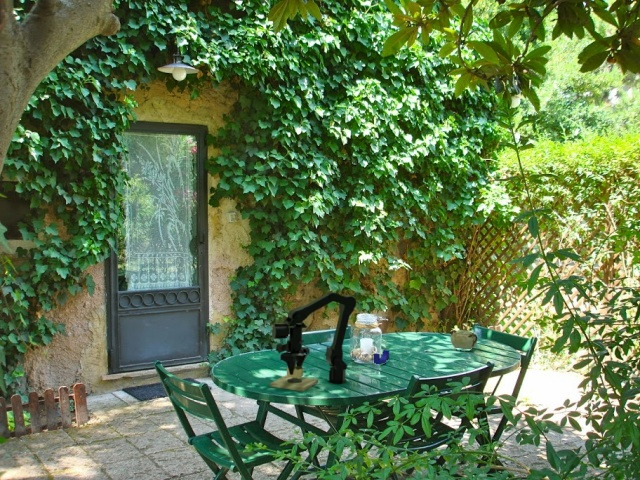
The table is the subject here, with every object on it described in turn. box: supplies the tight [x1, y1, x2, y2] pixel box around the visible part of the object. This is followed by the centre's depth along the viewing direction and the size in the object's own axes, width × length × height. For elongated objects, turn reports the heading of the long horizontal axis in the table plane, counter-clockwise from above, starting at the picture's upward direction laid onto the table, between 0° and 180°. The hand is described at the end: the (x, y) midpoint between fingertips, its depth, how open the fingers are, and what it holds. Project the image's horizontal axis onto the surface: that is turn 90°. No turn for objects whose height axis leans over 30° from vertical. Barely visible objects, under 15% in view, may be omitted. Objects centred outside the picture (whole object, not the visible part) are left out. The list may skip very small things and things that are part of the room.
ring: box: [286, 366, 304, 378], centre depth 280 cm, size 7×7×4 cm
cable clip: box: [374, 349, 390, 364], centre depth 326 cm, size 12×4×6 cm, turn 145°
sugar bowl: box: [450, 324, 478, 349], centre depth 364 cm, size 20×15×15 cm
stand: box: [269, 368, 319, 392], centre depth 280 cm, size 16×16×7 cm
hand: (294, 372), depth 280 cm, fingers closed on ring, 7 cm apart
